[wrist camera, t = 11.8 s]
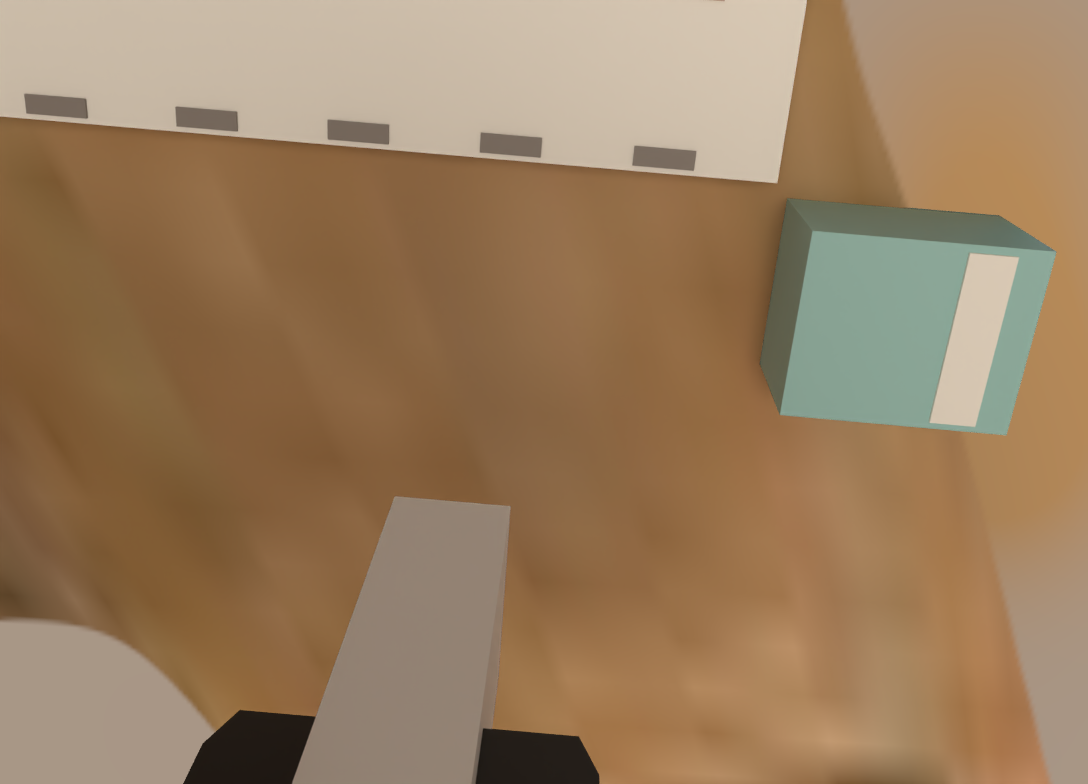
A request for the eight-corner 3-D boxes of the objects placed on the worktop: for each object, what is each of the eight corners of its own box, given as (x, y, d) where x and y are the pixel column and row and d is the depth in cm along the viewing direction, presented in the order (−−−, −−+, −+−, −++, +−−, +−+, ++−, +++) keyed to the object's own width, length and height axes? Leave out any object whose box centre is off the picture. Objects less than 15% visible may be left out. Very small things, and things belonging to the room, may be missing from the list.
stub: (758, 361, 31) (780, 416, 27) (786, 197, 29) (813, 231, 25) (958, 379, 31) (1007, 436, 27) (999, 215, 29) (1058, 253, 25)
